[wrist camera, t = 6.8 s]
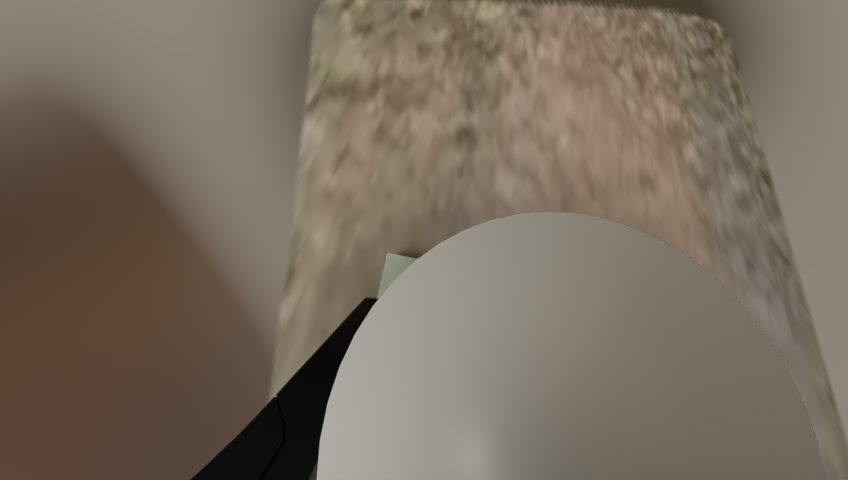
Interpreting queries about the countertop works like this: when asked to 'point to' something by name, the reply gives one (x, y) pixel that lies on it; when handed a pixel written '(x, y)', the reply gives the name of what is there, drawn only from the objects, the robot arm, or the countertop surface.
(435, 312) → the white cylinder
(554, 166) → the countertop surface
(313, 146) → the countertop surface
